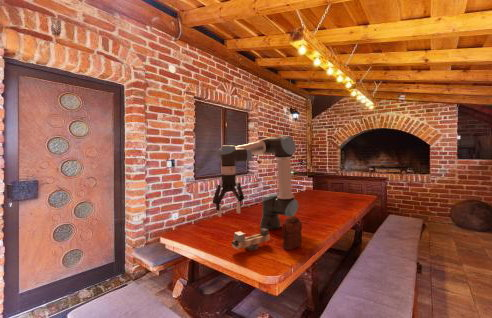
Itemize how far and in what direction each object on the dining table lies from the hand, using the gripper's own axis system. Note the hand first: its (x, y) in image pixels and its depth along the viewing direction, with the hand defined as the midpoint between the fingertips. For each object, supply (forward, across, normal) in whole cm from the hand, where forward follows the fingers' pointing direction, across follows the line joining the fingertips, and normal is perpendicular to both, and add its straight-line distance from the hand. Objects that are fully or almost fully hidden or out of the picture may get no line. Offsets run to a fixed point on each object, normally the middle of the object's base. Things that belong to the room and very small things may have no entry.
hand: (229, 214), depth 136 cm
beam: (+22, +14, 0) cm, 26 cm away
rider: (+17, +6, 0) cm, 18 cm away
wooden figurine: (+22, +34, -12) cm, 43 cm away
